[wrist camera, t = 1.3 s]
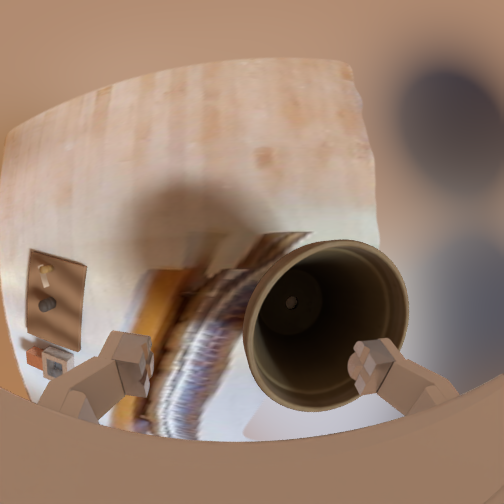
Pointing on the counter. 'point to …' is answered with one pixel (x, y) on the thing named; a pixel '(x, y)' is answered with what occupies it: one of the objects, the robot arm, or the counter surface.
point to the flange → (50, 361)
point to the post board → (55, 300)
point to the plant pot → (321, 321)
